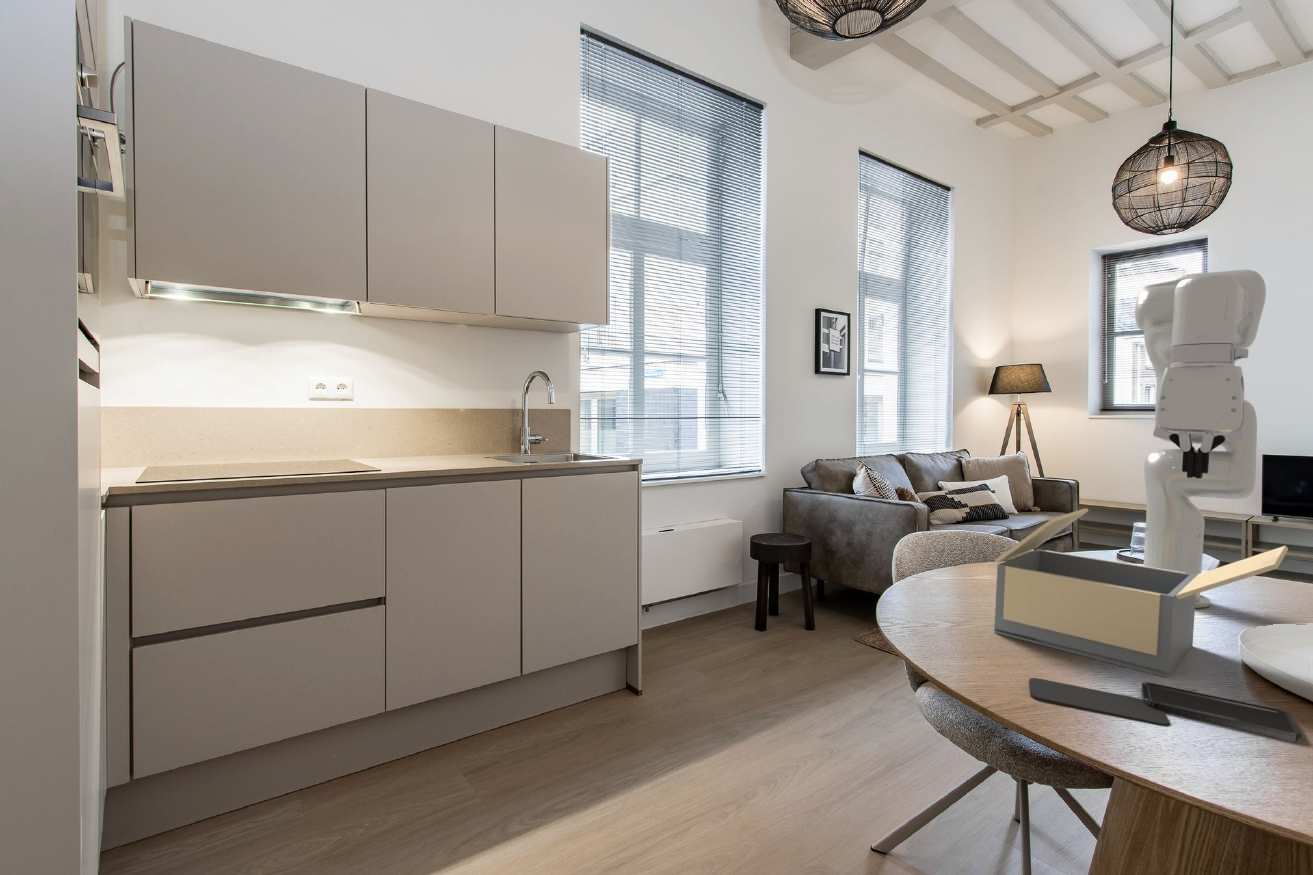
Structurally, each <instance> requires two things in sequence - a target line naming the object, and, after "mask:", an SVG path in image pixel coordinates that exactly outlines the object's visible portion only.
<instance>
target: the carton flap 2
mask: <svg viewBox="0 0 1313 875" xmlns="http://www.w3.org/2000/svg"><path fill="white" fill-rule="evenodd" d="M1288 550H1289V548H1288V547H1287V545H1283V546H1280V547H1277V548H1273V549H1271V550H1268V551H1264V552H1261V553H1259V554H1255V555H1253V556H1250V557H1247V558H1244V559H1241V560H1240V559H1239V560H1237V561H1234V562H1231V563H1228V564H1225V565H1222V566H1218V567H1216V568H1214V569H1210V570H1206V571H1205V572H1201V574H1198V575H1197V576H1196V577H1195V578H1194V579H1193V580H1192V581H1191V582H1190V583H1188V584H1187V585H1186V586H1185V587H1184V588H1183V589H1182V590H1181V591H1180V592H1179V593H1178V594H1177V595H1176V597H1177V598H1178V599H1181V598H1184V597H1188V596H1191V595H1194V594H1197V593H1200V594H1201V593H1204V592H1206V591H1209V590H1213V589H1216V588H1219V587H1223V586H1225V585H1229V584H1231V583H1235V582H1239V581H1241V580H1245V579H1248V578H1251V577H1254V576H1257V575H1260V574H1264V573H1267V572H1270V571H1273V570H1277V569H1278V568H1279V566H1280V565H1281V563H1282V562H1283V560H1284V559H1285V558H1284V557H1285V556H1286V554H1287V552H1288Z"/></svg>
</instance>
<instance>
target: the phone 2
mask: <svg viewBox="0 0 1313 875" xmlns="http://www.w3.org/2000/svg"><path fill="white" fill-rule="evenodd" d="M1140 689H1141V690H1140V691H1141V699H1143V703H1144V704H1145V705H1147V706H1149V707H1152V708H1156V709H1160V710H1163V711H1164V713H1165V714H1169V715H1174V716H1177V717H1180V718H1181V717H1182V718H1187V719H1190V720H1195V721H1199V722H1204V723H1208V724H1212V725H1217V726H1220V727H1225V728H1230V729H1234V730H1238V731H1243V732H1247V733H1251V734H1256V735H1260V736H1265V737H1268V738H1274V739H1277V740H1282V741H1286V742H1290V743H1291V742H1292V743H1301V742H1302V731H1301V730H1300V728H1299V726H1298V725H1297V722H1295V719H1294V718H1293V716H1292V715H1291V714H1290V713H1288V712H1286V711H1284V710H1280V709H1276V708H1272V707H1267V706H1262V705H1259V704H1258V705H1257V704H1254V703H1249V702H1243V701H1238V700H1235V699H1231V698H1230V699H1229V698H1225V697H1220V696H1216V695H1210V694H1205V693H1200V692H1198V691H1197V692H1195V691H1192V690H1187V689H1182V688H1177V687H1173V686H1167V685H1164V684H1158V683H1153V682H1144V681H1143V682H1142V683H1141V688H1140Z"/></svg>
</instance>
